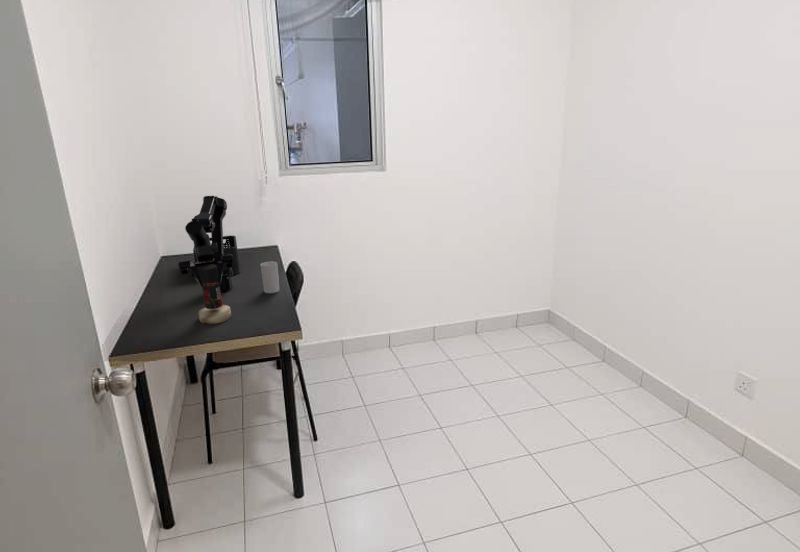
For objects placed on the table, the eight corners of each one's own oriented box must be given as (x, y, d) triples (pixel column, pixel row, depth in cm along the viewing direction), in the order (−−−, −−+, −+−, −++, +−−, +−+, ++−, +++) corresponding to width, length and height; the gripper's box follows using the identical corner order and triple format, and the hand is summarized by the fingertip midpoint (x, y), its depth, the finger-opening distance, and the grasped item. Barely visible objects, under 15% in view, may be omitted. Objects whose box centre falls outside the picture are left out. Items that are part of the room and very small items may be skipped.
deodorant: (209, 302, 183) (203, 264, 178) (224, 302, 182) (219, 264, 178) (202, 309, 177) (196, 269, 172) (219, 309, 177) (212, 269, 172)
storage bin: (199, 263, 251) (195, 238, 247) (238, 259, 257) (235, 234, 253) (197, 280, 225) (192, 251, 221) (241, 274, 231) (237, 247, 227)
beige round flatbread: (194, 323, 176) (193, 316, 175) (207, 312, 187) (206, 304, 186) (224, 323, 175) (223, 316, 174) (235, 312, 186) (234, 304, 185)
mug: (279, 293, 205) (276, 265, 201) (262, 294, 204) (259, 266, 200) (281, 285, 214) (278, 258, 211) (265, 286, 213) (262, 259, 210)
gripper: (173, 239, 171) (181, 278, 165) (229, 232, 179) (238, 269, 173) (176, 255, 180) (183, 293, 175) (229, 248, 188) (237, 284, 182)
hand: (210, 284), depth 176 cm, fingers closed on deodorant, 6 cm apart
